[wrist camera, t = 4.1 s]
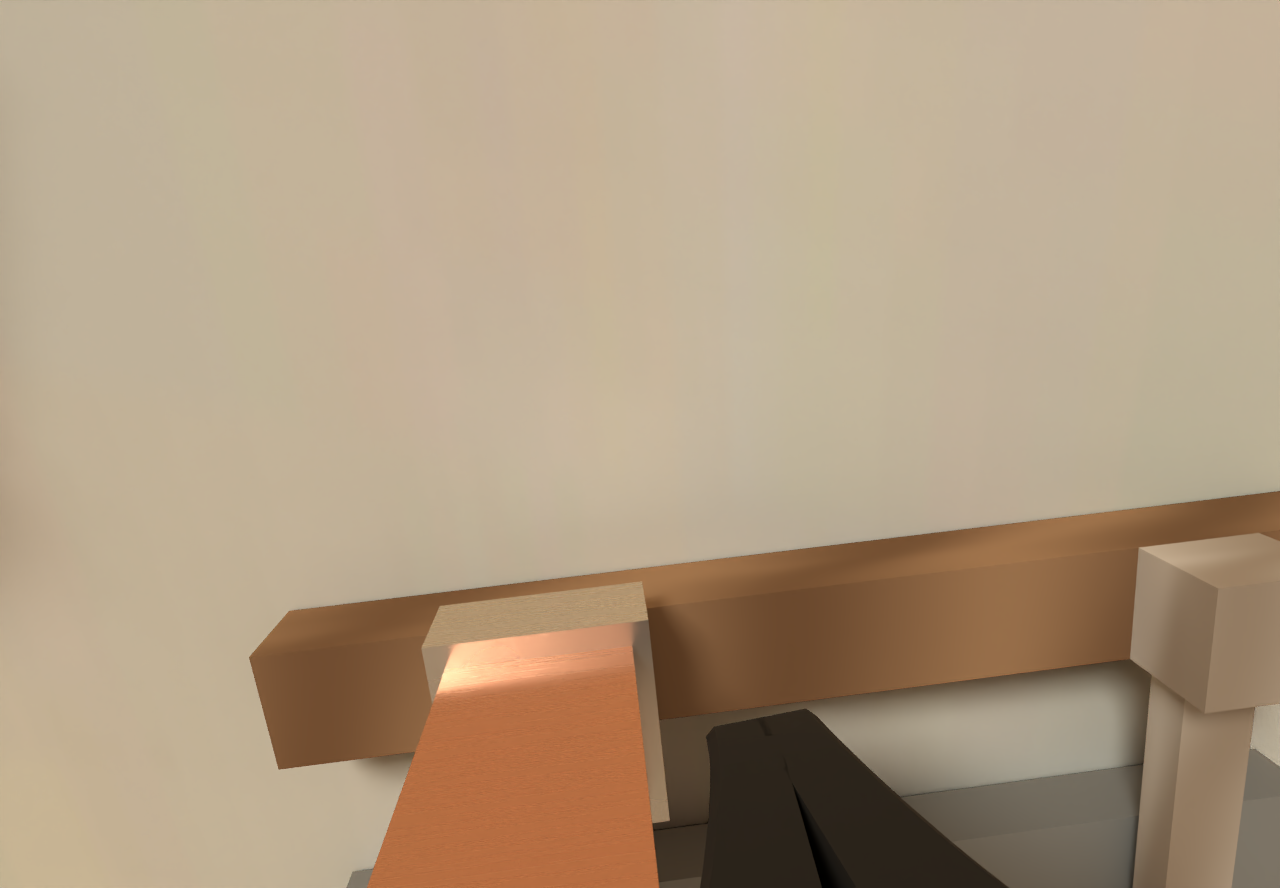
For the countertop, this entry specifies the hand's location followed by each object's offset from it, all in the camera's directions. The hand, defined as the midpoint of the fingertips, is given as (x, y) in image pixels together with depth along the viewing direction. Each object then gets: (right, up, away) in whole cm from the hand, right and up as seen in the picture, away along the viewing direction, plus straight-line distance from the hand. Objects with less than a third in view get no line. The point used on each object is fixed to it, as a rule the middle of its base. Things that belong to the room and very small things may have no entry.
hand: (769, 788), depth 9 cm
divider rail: (+2, -2, +5) cm, 6 cm away
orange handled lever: (-3, -3, +4) cm, 5 cm away
